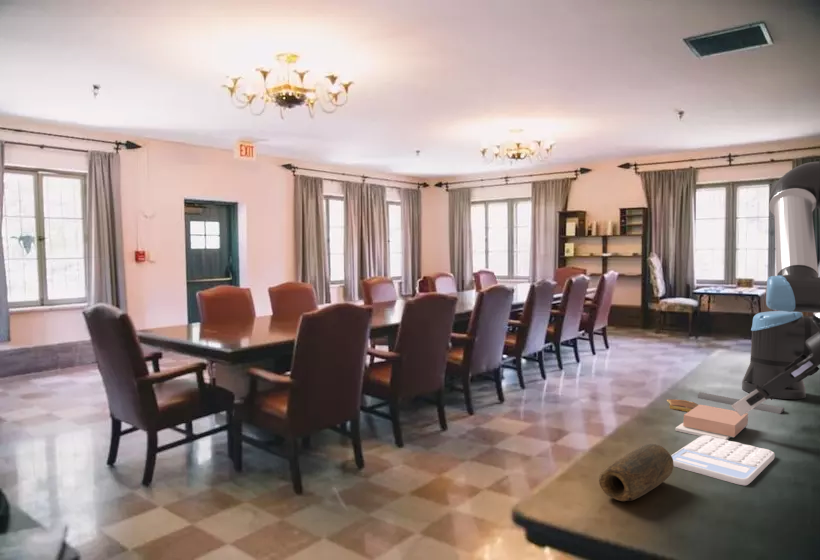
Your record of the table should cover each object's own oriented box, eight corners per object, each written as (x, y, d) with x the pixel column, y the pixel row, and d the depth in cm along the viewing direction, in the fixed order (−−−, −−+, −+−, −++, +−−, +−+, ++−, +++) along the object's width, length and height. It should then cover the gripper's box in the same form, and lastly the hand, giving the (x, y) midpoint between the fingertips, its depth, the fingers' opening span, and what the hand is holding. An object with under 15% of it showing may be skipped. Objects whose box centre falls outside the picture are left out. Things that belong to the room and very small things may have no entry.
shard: (713, 419, 131) (713, 412, 131) (680, 418, 131) (681, 411, 131) (692, 406, 142) (692, 399, 142) (662, 405, 142) (662, 398, 142)
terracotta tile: (747, 425, 123) (699, 415, 130) (748, 413, 123) (699, 404, 130) (734, 438, 114) (683, 426, 121) (735, 425, 114) (683, 414, 121)
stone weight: (634, 472, 97) (635, 435, 97) (675, 484, 92) (677, 446, 92) (594, 498, 87) (595, 457, 87) (638, 514, 82) (640, 470, 82)
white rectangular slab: (696, 415, 132) (696, 412, 132) (743, 424, 126) (743, 422, 125) (675, 430, 121) (675, 427, 121) (725, 441, 114) (725, 438, 114)
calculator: (776, 459, 106) (776, 449, 106) (746, 489, 92) (746, 478, 92) (701, 441, 115) (702, 432, 115) (664, 466, 101) (665, 456, 101)
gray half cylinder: (701, 397, 151) (702, 391, 151) (785, 413, 137) (785, 406, 137) (696, 400, 148) (696, 393, 148) (780, 416, 134) (781, 409, 134)
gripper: (851, 364, 101) (743, 432, 113) (857, 355, 110) (756, 418, 122) (817, 332, 104) (715, 401, 116) (825, 326, 113) (731, 390, 126)
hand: (736, 410), depth 119 cm, fingers closed
